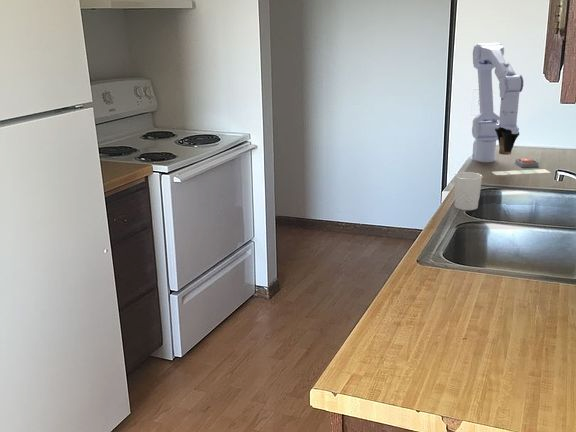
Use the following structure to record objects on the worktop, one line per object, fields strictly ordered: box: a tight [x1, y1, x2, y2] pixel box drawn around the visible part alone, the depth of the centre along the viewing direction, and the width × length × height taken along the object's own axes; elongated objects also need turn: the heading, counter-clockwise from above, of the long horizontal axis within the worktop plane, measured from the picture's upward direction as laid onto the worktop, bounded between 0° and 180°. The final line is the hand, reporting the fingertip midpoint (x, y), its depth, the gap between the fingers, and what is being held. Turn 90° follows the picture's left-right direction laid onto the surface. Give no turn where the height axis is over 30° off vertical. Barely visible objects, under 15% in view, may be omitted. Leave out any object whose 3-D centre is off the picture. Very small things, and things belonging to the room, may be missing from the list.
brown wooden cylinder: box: [498, 137, 512, 156], centre depth 215 cm, size 4×4×6 cm
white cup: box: [454, 171, 483, 211], centre depth 186 cm, size 8×8×10 cm
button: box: [520, 157, 535, 163], centre depth 227 cm, size 4×4×2 cm
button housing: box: [515, 158, 539, 168], centre depth 227 cm, size 6×6×2 cm
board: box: [491, 168, 552, 176], centre depth 219 cm, size 10×20×1 cm, turn 93°
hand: (505, 150), depth 215 cm, fingers closed on brown wooden cylinder, 4 cm apart
